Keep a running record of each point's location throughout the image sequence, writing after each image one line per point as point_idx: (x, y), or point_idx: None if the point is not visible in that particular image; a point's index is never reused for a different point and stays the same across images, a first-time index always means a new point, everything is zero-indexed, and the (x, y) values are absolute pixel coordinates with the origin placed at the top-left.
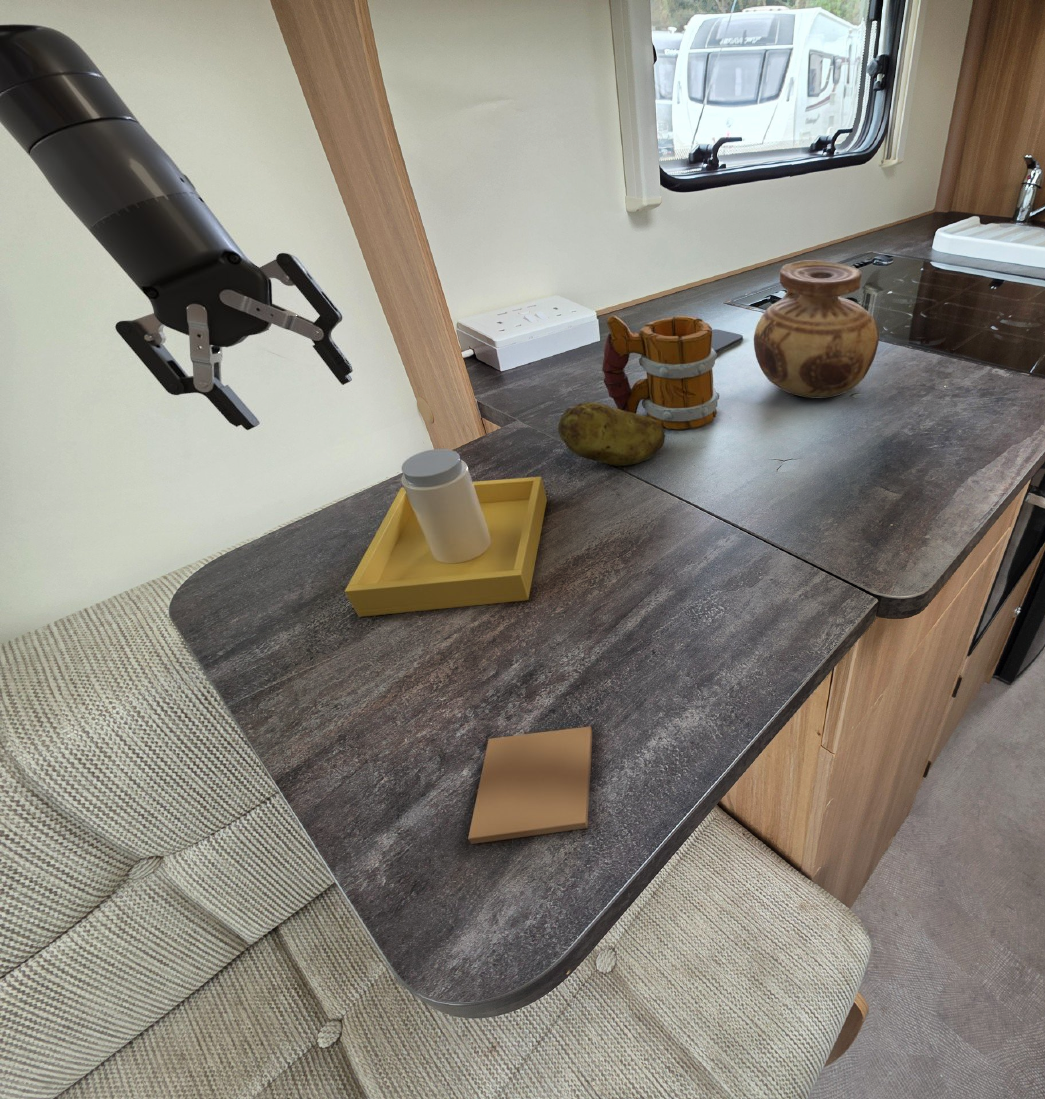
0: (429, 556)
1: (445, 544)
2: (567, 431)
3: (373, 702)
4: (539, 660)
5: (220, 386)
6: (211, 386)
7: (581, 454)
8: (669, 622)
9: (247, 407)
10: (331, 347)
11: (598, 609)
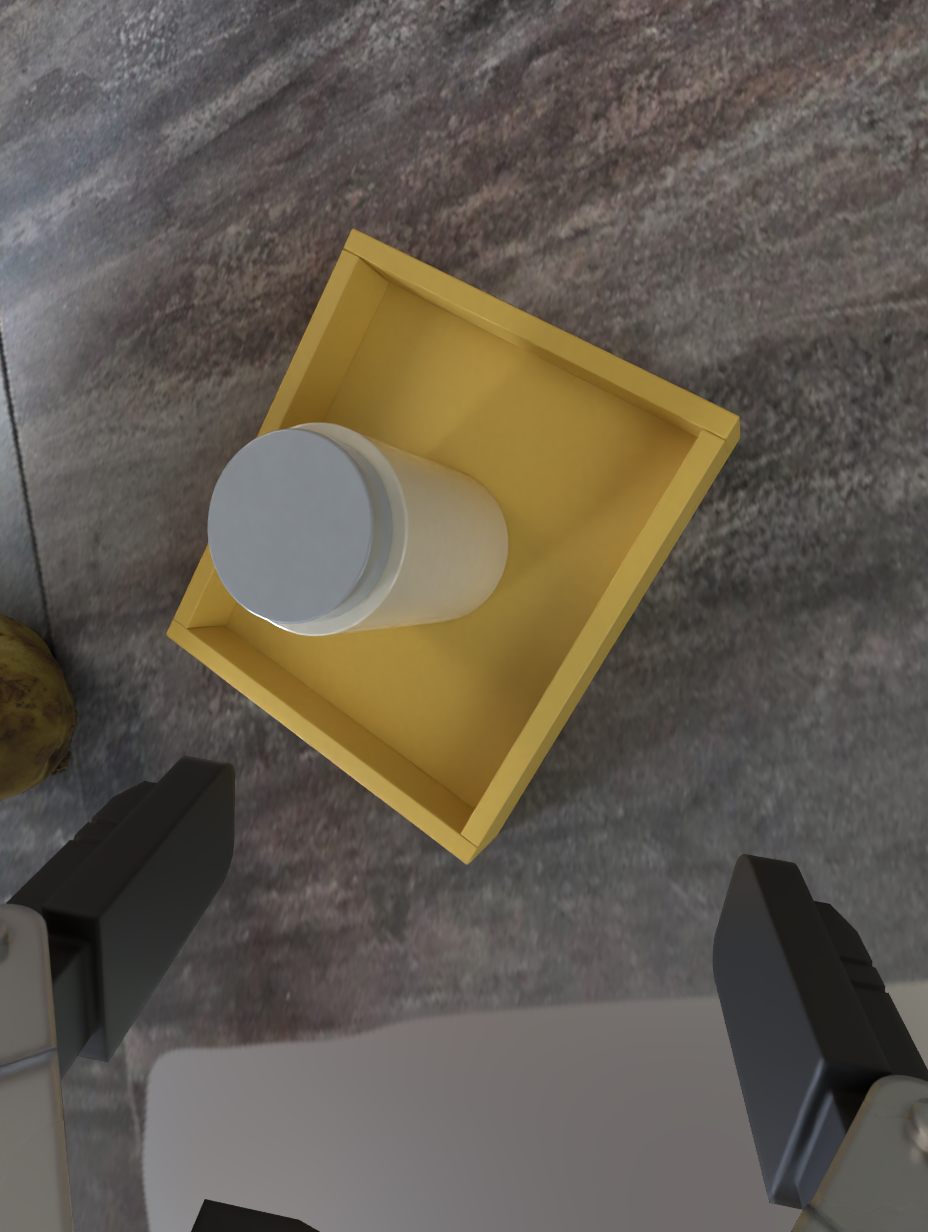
0: (515, 554)
1: (453, 471)
2: (13, 710)
3: (790, 93)
4: (446, 54)
5: (818, 1142)
6: (879, 1092)
7: (61, 679)
8: (209, 42)
9: (729, 1039)
10: (47, 886)
11: (293, 153)
